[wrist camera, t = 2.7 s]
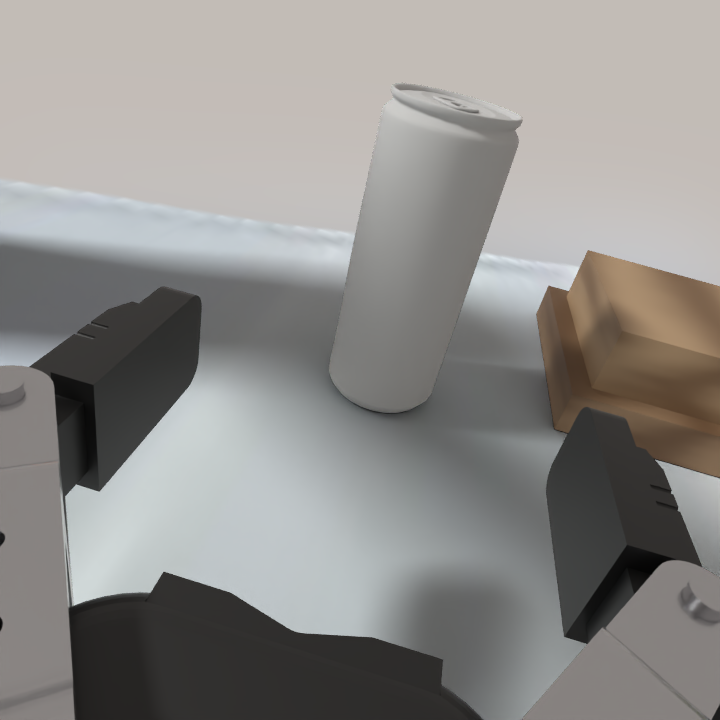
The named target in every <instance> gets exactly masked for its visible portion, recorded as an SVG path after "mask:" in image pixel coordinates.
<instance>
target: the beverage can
mask: <svg viewBox="0 0 720 720" xmlns="http://www.w3.org/2000/svg"><path fill="white" fill-rule="evenodd" d="M391 93H392V94H393V99H392V100H390V101H389V102H388V103H386V104H385V105H384V107H383V110H382V113H381V118H380V122H379V127H378V132H377V136H376V141H375V145H374V151H373V155H372V159H371V164H370V169H369V173H368V178H367V182H366V187H365V192H364V196H363V201H362V206H361V210H360V215H359V220H358V224H357V230H356V234H355V239H354V243H353V248H352V253H351V258H350V264H349V269H348V274H347V279H346V284H345V289H344V295H343V300H342V305H341V310H340V315H339V320H338V325H337V330H336V334H335V339H334V344H333V348H332V353H331V358H330V363H329V373H330V376H331V379H332V381H333V383H334V385H335V386H336V387H337V389H338V390H339V391H340V393H341V394H342V395H343V396H344V397H346V398H347V399H348V400H350V401H351V402H353V403H355V404H357V405H359V406H361V407H363V408H366V409H369V410H372V411H377V412H383V413H399V412H403V411H407V410H410V409H412V408H414V407H416V406H418V405H420V404H422V403H424V402H425V401H426V400H427V399H428V398H429V396H430V395H431V394H432V391H433V388H434V385H435V382H436V380H437V377H438V374H439V371H440V368H441V365H442V362H443V360H444V357H445V354H446V351H447V348H448V345H449V342H450V340H451V337H452V334H453V331H454V328H455V325H456V322H457V319H458V317H459V314H460V311H461V308H462V305H463V302H464V299H465V297H466V294H467V291H468V288H469V285H470V282H471V279H472V276H473V274H474V271H475V268H476V265H477V262H478V259H479V256H480V254H481V251H482V248H483V245H484V242H485V239H486V236H487V233H488V231H489V228H490V225H491V222H492V219H493V216H494V213H495V211H496V207H497V205H498V202H499V199H500V196H501V193H502V190H503V187H504V185H505V182H506V179H507V176H508V173H509V170H510V168H511V165H512V162H513V159H514V156H515V153H516V150H517V147H518V143H519V141H518V136H517V134H516V132H515V130H516V129H517V128H518V127H519V126H520V125H521V123H522V117H521V116H520V115H518V114H517V113H515V112H513V111H511V110H508V109H506V108H503V107H501V106H498V105H495V104H492V103H489V102H486V101H483V100H480V99H476V98H473V97H469V96H465V95H462V94H458V93H454V92H450V91H446V90H442V89H437V88H432V87H426V86H421V85H415V84H405V83H396V84H393V85H392V86H391Z"/></svg>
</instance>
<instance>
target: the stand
mask: <svg viewBox="0 0 720 720" xmlns="http://www.w3.org/2000/svg"><path fill="white" fill-rule="evenodd" d="M536 315H537V321H538V328H539V334H540V340H541V347H542V353H543V360H544V366H545V372H546V379H547V385H548V392H549V398H550V404H551V411H552V417H553V424H554V429H556V430H559V431H563V432H566V433H569V431H570V429H571V427H572V425H573V423H574V421H575V419H576V417H577V416H578V414H579V412H580V411H581V410H582V409H583V408H584V407H590V408H593V409H597V410H600V411H604V412H607V413H611V414H615V415H618V416H622V417H624V418H625V419H626V420H627V422H628V425H629V427H630V430H631V433H632V436H633V439H634V441H635V444H636V447H640V448H643V449H646V450H647V451H648V453H649V454H650V455H651V456H652V457H653V458H655V459H658V460H661V461H665V462H668V463H672V464H675V465H679V466H682V467H685V468H689V469H692V470H696V471H699V472H702V473H706V474H709V475H713V476H716V477H719V478H720V286H717V285H713V284H709V283H706V282H702V281H698V280H694V279H691V278H687V277H684V276H680V275H676V274H672V273H669V272H665V271H662V270H658V269H654V268H651V267H647V266H643V265H640V264H636V263H633V262H629V261H625V260H622V259H618V258H614V257H611V256H607V255H603V254H599V253H596V252H592V251H589V250H588V251H587V253H586V256H585V258H584V260H583V262H582V264H581V266H580V269H579V271H578V273H577V275H576V277H575V280H574V282H573V284H572V286H571V288H570V290H569V291H566V290H562V289H559V288H555V287H551V286H548V288H547V291H546V293H545V295H544V298H543V300H542V302H541V305H540V307H539V309H538V312H537V314H536Z"/></svg>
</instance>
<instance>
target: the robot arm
mask: <svg viewBox="0 0 720 720" xmlns="http://www.w3.org/2000/svg"><path fill="white" fill-rule="evenodd" d="M200 324H201V300H200V298H199V296H196V295H193V294H189V293H186V292H182V291H179V290H175V289H172V288H168V287H160V288H159V289H157V290H156V291H155V292H153V293H152V294H151V295H150V296H148V297H147V298H146V299H144V300H143V301H142V302H141V303H139V304H138V303H135V302H130V303H127V304H124V305H121V306H118V307H115V308H111V309H108V310H107V311H106V312H104V313H103V314H101V315H100V316H99V317H97V318H96V319H94V320H93V321H92V322H91V325H89V324H88V325H86V326H85V327H83V328H82V329H81V330H79V331H78V333H77V335H75V334H74V335H72V336H71V337H70V338H68V339H67V340H66V341H64V342H63V343H61V344H60V345H59V346H57V347H56V348H54V349H53V350H52V351H50V352H49V353H48V354H46V355H45V356H43V357H42V358H41V359H39V360H38V361H37V362H35V363H34V364H32V365H31V366H30V367H25V366H0V720H483V719H482V718H481V717H480V716H479V715H478V714H477V713H476V712H475V711H474V710H473V709H472V708H471V707H470V706H469V705H468V704H467V703H466V702H464V701H463V700H462V699H460V698H459V697H458V696H457V695H455V694H454V693H453V692H451V691H450V690H448V689H447V688H445V687H444V686H442V685H441V677H442V664H443V660H442V659H439V658H436V657H433V656H430V655H426V654H423V653H420V652H417V651H414V650H411V649H407V648H404V647H401V646H398V645H395V644H391V643H388V642H385V641H382V640H379V639H376V638H372V637H355V636H338V635H321V634H305V633H298V632H294V631H292V630H290V629H288V628H286V627H285V626H283V625H282V624H280V623H278V622H277V621H275V620H274V619H272V618H270V617H269V616H267V615H265V614H264V613H262V612H261V611H259V610H257V609H256V608H254V607H253V606H251V605H249V604H248V603H246V602H245V601H243V600H241V599H240V598H238V597H237V596H235V595H233V594H232V593H230V592H226V591H223V590H220V589H217V588H214V587H211V586H207V585H204V584H201V583H198V582H195V581H192V580H188V579H185V578H182V577H179V576H176V575H173V574H169V573H166V572H163V573H162V575H161V577H160V578H159V580H158V582H157V583H156V585H155V587H154V588H153V590H152V592H151V593H123V594H117V595H111V596H104V597H101V598H97V599H93V600H89V601H85V602H83V603H80V604H77V605H75V606H74V601H73V589H72V576H71V563H70V550H69V537H68V524H67V511H66V500H65V496H66V495H67V494H68V493H69V491H70V490H71V489H72V488H73V487H74V486H75V485H76V484H77V485H80V486H83V487H86V488H90V489H93V490H96V491H99V492H100V490H101V489H102V488H103V487H104V486H105V485H106V483H107V482H108V481H109V480H110V479H111V477H112V476H113V475H114V474H115V473H116V472H117V470H118V469H119V468H120V467H121V466H122V465H123V463H124V462H125V461H126V460H127V459H128V457H129V456H130V455H131V454H132V453H133V452H134V450H135V449H136V448H137V447H138V446H139V445H140V443H141V442H142V441H143V440H144V439H145V437H146V436H147V435H148V434H149V433H150V432H151V430H152V429H153V428H154V427H155V426H156V425H157V423H158V422H159V421H160V420H161V419H162V417H163V416H164V415H165V414H166V413H167V412H168V410H169V409H170V408H171V407H172V406H173V405H174V403H175V402H176V401H177V400H178V399H179V397H180V396H181V395H182V394H183V393H184V392H185V390H186V389H187V388H188V387H189V385H190V384H191V382H192V380H193V377H194V375H195V372H196V369H197V364H198V356H199V340H200ZM671 491H672V490H671V488H670V485H669V483H668V480H667V478H666V475H665V473H664V470H663V469H662V468H661V467H660V465H659V464H658V463H657V462H656V461H655V460H654V458H653V457H652V456H651V455H650V454H649V453H648V451H647V450H646V449H643V448H640V447H636V444H635V441H634V439H633V436H632V433H631V430H630V427H629V425H628V422H627V420H626V419H625V418H624V417H622V416H618V415H615V414H611V413H607V412H604V411H600V410H597V409H593V408H590V407H584V408H583V409H582V410H581V411H580V412H579V414H578V416H577V417H576V419H575V421H574V423H573V425H572V427H571V429H570V431H569V433H568V435H567V437H566V439H565V440H564V442H563V444H562V446H561V448H560V450H559V452H558V454H557V456H556V458H555V460H554V462H553V464H552V466H551V469H550V472H549V475H548V480H547V487H546V495H547V503H548V511H549V519H550V527H551V535H552V543H553V551H554V559H555V567H556V575H557V583H558V591H559V599H560V608H561V616H562V624H563V632H564V637H567V638H570V639H573V640H576V641H580V642H583V643H586V644H587V645H586V646H585V648H584V649H583V650H582V651H581V652H580V653H579V654H578V656H577V657H576V658H575V659H574V660H573V661H572V662H571V664H570V665H569V666H568V667H567V668H566V669H565V670H564V672H563V673H562V674H561V675H560V676H559V677H558V678H557V680H556V681H555V682H554V683H553V684H552V685H551V686H550V688H549V689H548V690H547V691H546V692H545V693H544V694H543V696H542V697H541V698H540V699H539V700H538V701H537V702H536V704H535V705H534V706H533V707H532V708H531V709H530V710H529V712H528V713H527V714H526V715H525V716H524V717H523V718H522V720H720V578H719V577H718V576H716V575H715V574H713V573H712V572H710V571H708V570H706V569H704V568H702V565H701V563H700V560H699V558H698V555H697V553H696V550H695V548H694V545H693V543H692V540H691V538H690V535H689V533H688V530H687V528H686V525H685V523H684V520H683V518H682V515H681V513H680V512H679V511H678V505H677V503H676V500H675V498H674V495H673V494H671Z"/></svg>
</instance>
